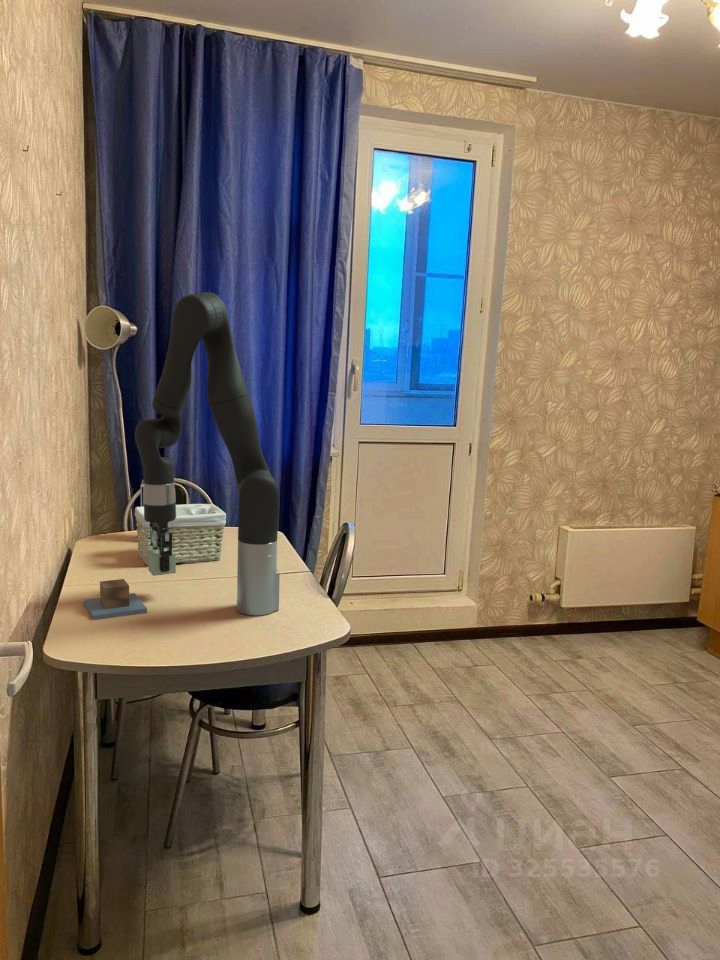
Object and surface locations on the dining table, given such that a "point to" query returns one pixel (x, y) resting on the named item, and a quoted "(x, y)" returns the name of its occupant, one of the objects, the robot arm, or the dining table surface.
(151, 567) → the sage green block
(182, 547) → the storage basket
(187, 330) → the robot arm
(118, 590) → the walnut block
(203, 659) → the dining table surface
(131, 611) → the base board
